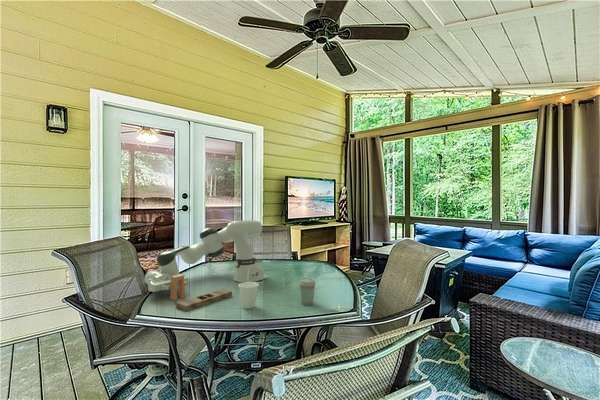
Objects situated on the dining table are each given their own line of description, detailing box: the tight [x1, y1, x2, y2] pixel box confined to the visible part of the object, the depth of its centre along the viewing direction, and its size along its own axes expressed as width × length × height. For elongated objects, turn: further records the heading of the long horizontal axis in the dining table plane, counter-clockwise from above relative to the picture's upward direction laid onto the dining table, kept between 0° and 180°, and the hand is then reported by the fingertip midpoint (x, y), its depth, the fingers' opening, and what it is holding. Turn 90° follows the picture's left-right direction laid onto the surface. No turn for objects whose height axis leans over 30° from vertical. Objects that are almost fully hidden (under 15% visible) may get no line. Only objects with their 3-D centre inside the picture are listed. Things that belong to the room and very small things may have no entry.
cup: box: [238, 281, 259, 310], centre depth 147 cm, size 10×10×11 cm
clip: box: [170, 273, 186, 301], centre depth 158 cm, size 6×4×12 cm, turn 143°
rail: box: [175, 288, 233, 312], centre depth 154 cm, size 28×8×2 cm, turn 143°
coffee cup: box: [298, 277, 316, 306], centre depth 152 cm, size 8×8×12 cm
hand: (177, 286), depth 158 cm, fingers open, 8 cm apart
